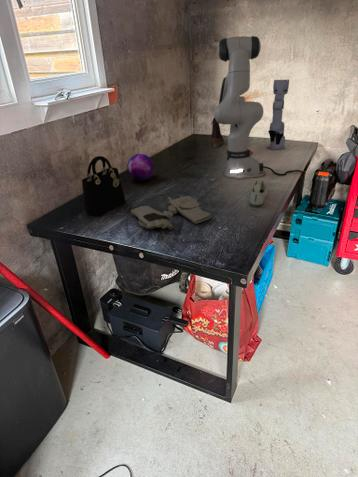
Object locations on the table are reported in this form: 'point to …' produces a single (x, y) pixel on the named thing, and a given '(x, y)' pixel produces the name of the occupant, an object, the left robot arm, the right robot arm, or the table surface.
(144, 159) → the decorative orb
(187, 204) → the pair of gloves
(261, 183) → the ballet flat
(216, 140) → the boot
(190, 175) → the table surface
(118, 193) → the handbag
